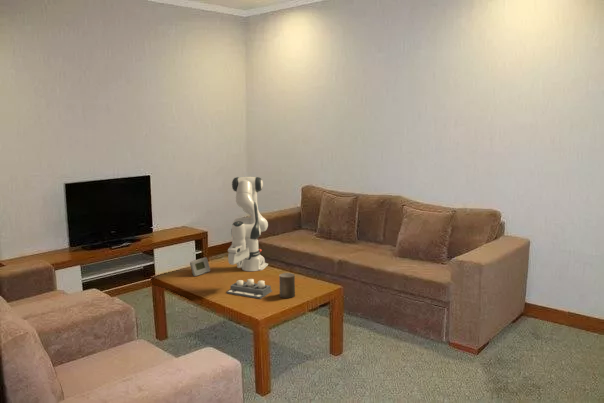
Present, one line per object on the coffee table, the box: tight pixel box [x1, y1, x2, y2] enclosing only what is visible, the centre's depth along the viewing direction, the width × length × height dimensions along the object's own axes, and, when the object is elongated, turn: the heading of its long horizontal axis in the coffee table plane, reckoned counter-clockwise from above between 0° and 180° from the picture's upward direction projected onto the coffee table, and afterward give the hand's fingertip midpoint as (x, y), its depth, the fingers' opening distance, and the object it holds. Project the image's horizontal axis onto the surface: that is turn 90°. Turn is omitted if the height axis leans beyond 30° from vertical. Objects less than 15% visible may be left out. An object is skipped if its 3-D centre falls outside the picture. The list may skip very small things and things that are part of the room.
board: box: [226, 281, 273, 300], centre depth 314 cm, size 15×25×4 cm, turn 65°
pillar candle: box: [278, 272, 296, 299], centre depth 307 cm, size 10×10×15 cm
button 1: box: [236, 279, 244, 286], centre depth 318 cm, size 4×4×4 cm
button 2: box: [246, 278, 255, 287], centre depth 315 cm, size 4×4×4 cm
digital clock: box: [189, 256, 211, 277], centre depth 353 cm, size 16×9×11 cm, turn 133°
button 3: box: [257, 279, 266, 289], centre depth 311 cm, size 4×4×4 cm
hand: (239, 267), depth 317 cm, fingers closed
